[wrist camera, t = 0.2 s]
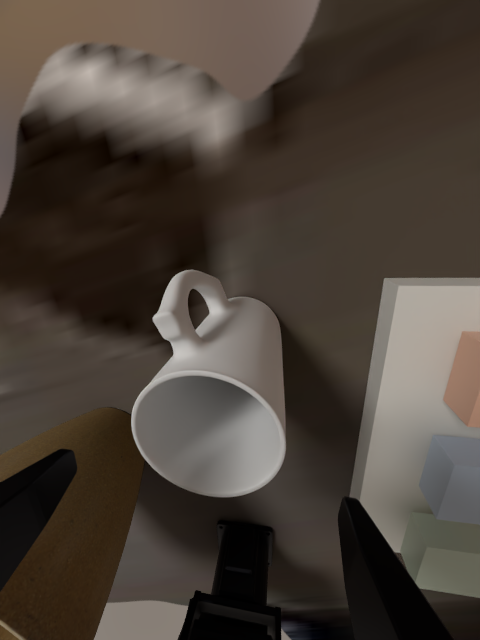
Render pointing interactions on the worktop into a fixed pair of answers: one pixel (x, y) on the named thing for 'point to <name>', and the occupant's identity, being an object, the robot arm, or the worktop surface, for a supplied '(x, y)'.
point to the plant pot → (74, 530)
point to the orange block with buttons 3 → (465, 380)
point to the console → (410, 394)
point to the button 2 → (453, 479)
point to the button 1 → (442, 554)
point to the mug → (214, 394)
